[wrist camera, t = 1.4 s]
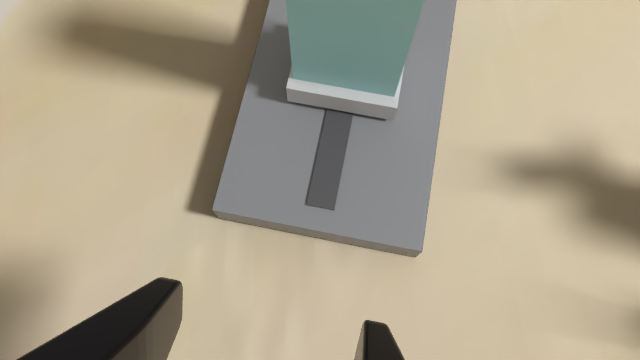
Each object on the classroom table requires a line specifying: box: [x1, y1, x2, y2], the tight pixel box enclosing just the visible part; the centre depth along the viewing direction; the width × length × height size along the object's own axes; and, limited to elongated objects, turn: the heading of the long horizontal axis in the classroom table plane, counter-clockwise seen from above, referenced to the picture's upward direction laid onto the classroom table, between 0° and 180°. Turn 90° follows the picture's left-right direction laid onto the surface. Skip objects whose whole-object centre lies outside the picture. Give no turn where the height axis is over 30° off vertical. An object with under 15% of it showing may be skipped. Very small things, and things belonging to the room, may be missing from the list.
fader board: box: [212, 0, 457, 257], centre depth 24 cm, size 16×9×2 cm, turn 169°
